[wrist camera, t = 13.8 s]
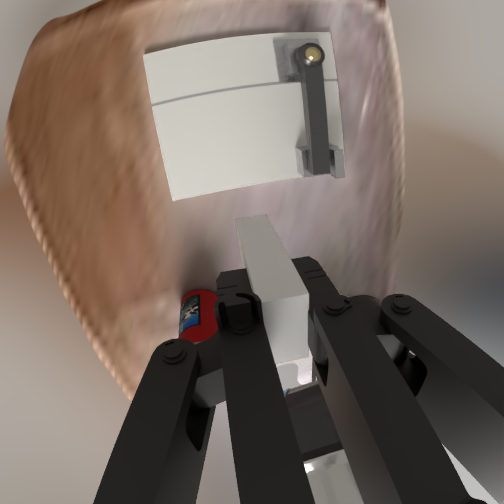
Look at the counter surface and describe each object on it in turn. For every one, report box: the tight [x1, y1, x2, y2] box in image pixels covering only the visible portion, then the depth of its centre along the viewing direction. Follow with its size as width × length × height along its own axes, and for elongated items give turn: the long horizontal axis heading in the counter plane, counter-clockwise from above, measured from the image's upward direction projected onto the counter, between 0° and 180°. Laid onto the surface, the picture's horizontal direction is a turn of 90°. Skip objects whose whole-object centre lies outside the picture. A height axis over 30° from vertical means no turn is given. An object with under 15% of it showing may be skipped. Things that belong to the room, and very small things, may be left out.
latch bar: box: [294, 43, 330, 175], centre depth 32 cm, size 16×3×2 cm, turn 7°
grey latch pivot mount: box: [272, 38, 324, 83], centre depth 31 cm, size 6×6×3 cm
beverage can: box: [179, 290, 218, 345], centre depth 43 cm, size 7×7×12 cm
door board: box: [143, 32, 345, 201], centre depth 35 cm, size 20×24×1 cm
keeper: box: [295, 143, 345, 178], centre depth 37 cm, size 4×5×5 cm
